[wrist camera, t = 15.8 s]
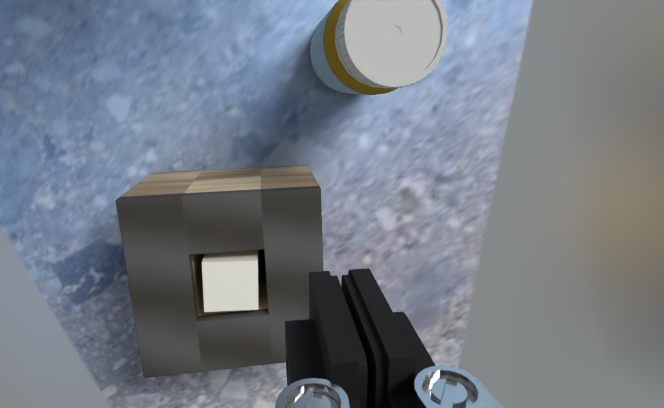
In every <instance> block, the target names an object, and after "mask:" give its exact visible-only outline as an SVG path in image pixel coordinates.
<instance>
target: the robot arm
mask: <svg viewBox="0 0 664 408" xmlns="http://www.w3.org/2000/svg"><path fill="white" fill-rule="evenodd" d="M285 348H286V370H287V385H288V386H287V387H286V388H285V389H284V390H283V391H282V392H281V393H280V394H279V396H278V399H277V402H276V406H275V408H504V407H503V406H502V405H501V404H500V403H499V402H498V401H497V400H496V399H495V398H494V396H493V395H492V394H491V393H490V392H489V391H488V390H487V389H486V388H485V387H484V386H483V385H482V384H481V383H480V381H479V380H477V379H476V378H475V377H474V376H472V375H471V374H469V373H467V372H465V371H464V370H461V369H458V368H455V367H451V366H442V365H441V366H435V364H434V362H433V360H432V359H431V357H430V355H429V354H428V352H427V350H426V348H425V347H424V345H423V343H422V342H421V340H420V338H419V336H418V335H417V333H416V331H415V330H414V328H413V326H412V325H411V323H410V321H409V319H408V318H407V316H406V315H405V313H404V312H392V310H391V308H390V306H389V304H388V303H387V301H386V299H385V297H384V295H383V293H382V291H381V290H380V288H379V286H378V284H377V282H376V280H375V278H374V276H373V275H372V273H371V271H370V269H353V270H349V273H348V275H342V283H341V285H340V283H339V280H338V277H337V276H331V275H330V272H329V271H322V272H309V319H304V320H292V321H285Z"/></svg>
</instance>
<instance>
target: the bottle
mask: <svg viewBox="0 0 664 408" xmlns="http://www.w3.org/2000/svg"><path fill="white" fill-rule="evenodd" d="M447 34H448V23H447V16H446V12H445V9H444V6H443V4H442V1H441V0H339V1H338V2H337V3H336V4H335V5H334V6H333V8H332V9H331V10H330V11H329V12H328V14H327V15H326V16H325V17H324V18H323V20H322V21H321V22H320V23H319V25H318V26H317V28H316V30H315V32H314V34H313V36H312V39H311V44H310V59H311V64H312V67H313V69H314V71H315V73H316V75H317V77H318V78H319V79H320V80H321V81H322V82H323V83H324V84H325V85H326V86H327V87H329V88H331V89H333V90H335V91H337V92H341V93H346V94H366V95H376V94H383V93H388V92H391V91H393V90H395V89H397V88H402V87H404V86H408V85H412V84H414V83H415V82H418V81H419V80H421V79H423V78H424V77H425V76H426V75H428V73H430V72H431V71H432V69H433V68H434V67H435V66H436V64H437V63H438V61H439V60H440V58H441V56H442V54H443V51H444V49H445V45H446V41H447Z"/></svg>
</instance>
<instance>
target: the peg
mask: <svg viewBox="0 0 664 408" xmlns="http://www.w3.org/2000/svg"><path fill="white" fill-rule="evenodd" d="M259 271H260V249H258V250H245V251H231V252H218V253H205V255H204V257H203V260H202V278H203V297H204V312H217V311H239V310H258V308H259Z"/></svg>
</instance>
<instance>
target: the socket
mask: <svg viewBox="0 0 664 408" xmlns="http://www.w3.org/2000/svg"><path fill="white" fill-rule="evenodd" d="M116 205H117V211H118V218H119V224H120V230H121V237H122V243H123V249H124V255H125V262H126V268H127V274H128V281H129V287H130V293H131V299H132V306H133V312H134V318H135V325H136V331H137V337H138V344H139V350H140V356H141V362H142V369H143V375H144V378H149V377H158V376H167V375H175V374H184V373H193V372H202V371H211V370H220V369H229V368H238V367H247V366H256V365H265V364H274V363H283V362H286V348H285V321H292V320H304V319H309V272H322V271H323V248H322V215H321V188H320V187H319V185H318V183H317V181H316V180H315V178H314V176H313V174H312V173H311V171H310V169H309V167H308V166H286V167H266V168H245V169H225V170H204V171H184V172H163V173H152V174H150V175H149V176H148V177H146V178H145V179H144V180H142V181H141V182H140V183H138V184H137V185H136V186H134V187H133V188H132V189H130V190H129V191H128V192H126V193H125V194H124V195H122V196H121V197H120V198H118V199H117V200H116ZM258 249H264V250H265V265H260V271H259V308H258V310H239V311H217V312H204V297H203V278H202V260H203V257H204V255H205V253H218V252H231V251H245V250H258Z"/></svg>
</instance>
